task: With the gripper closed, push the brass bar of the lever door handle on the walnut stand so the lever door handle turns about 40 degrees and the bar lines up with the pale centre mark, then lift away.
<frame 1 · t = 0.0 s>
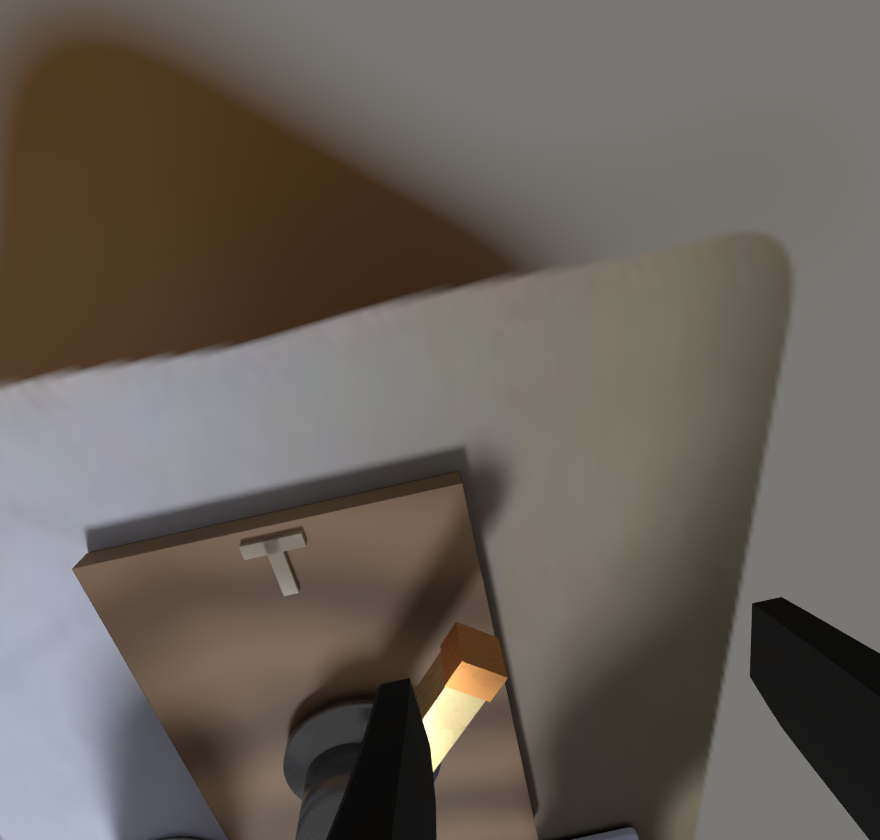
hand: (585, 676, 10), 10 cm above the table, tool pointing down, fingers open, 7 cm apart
lever door handle: (395, 749, 20), point 3 cm above the table, hinge at -40.0°
stand: (347, 708, 24), on the table
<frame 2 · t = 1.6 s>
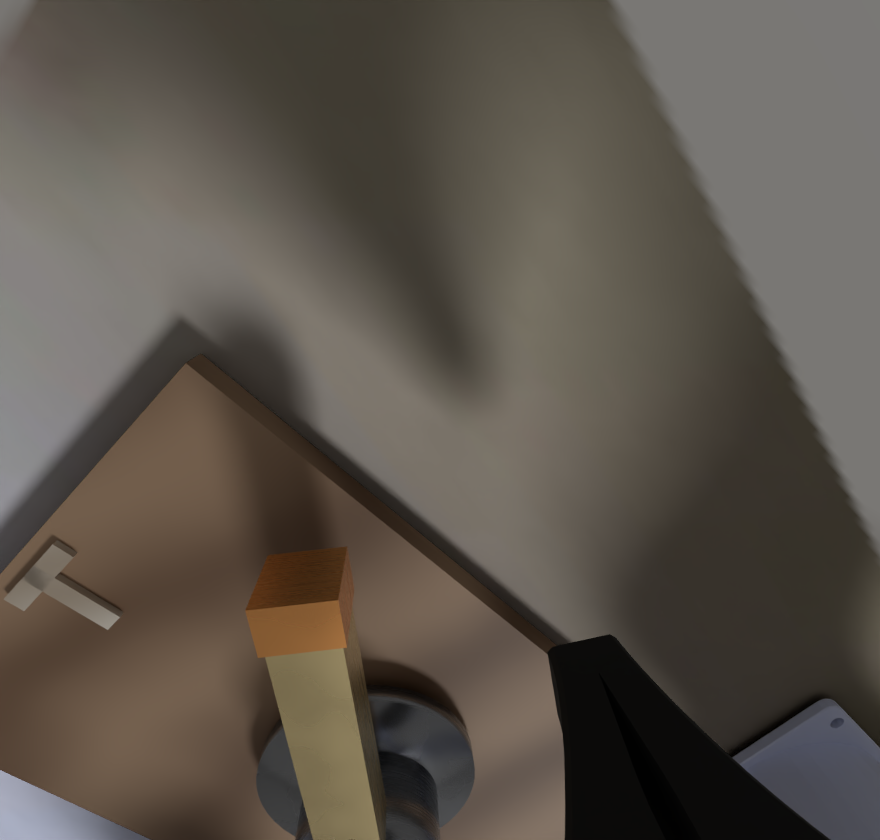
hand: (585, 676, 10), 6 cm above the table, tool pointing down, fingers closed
lever door handle: (349, 755, 14), point 3 cm above the table, hinge at -40.0°
stand: (331, 717, 18), on the table
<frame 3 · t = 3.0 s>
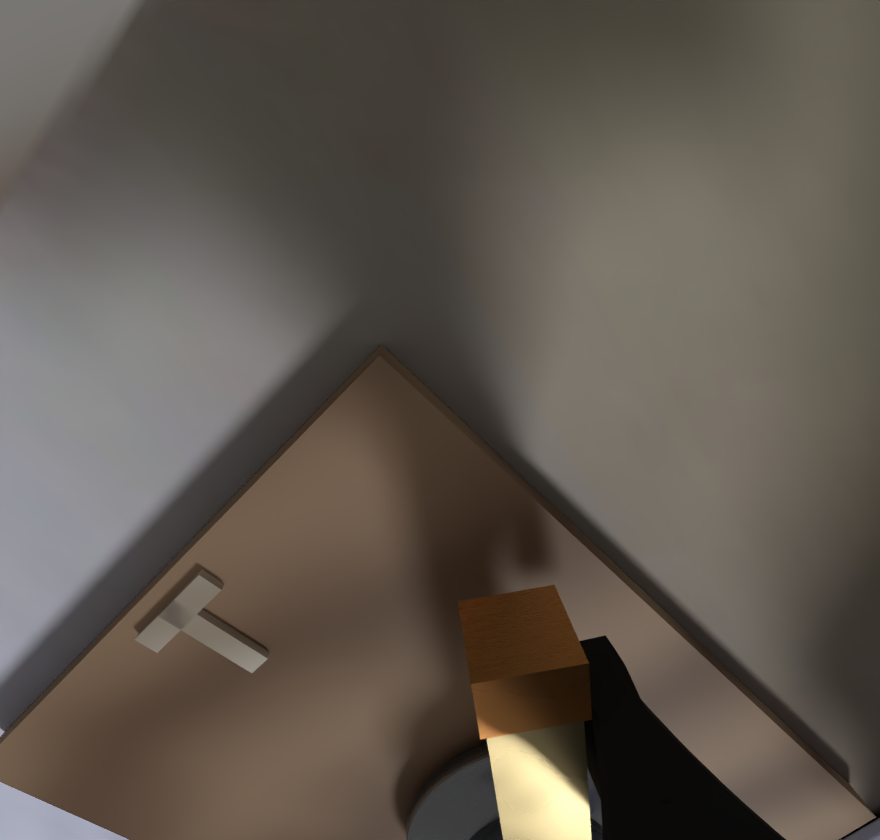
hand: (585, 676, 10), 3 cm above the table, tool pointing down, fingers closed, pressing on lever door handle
lever door handle: (535, 824, 12), point 3 cm above the table, hinge at -36.1°, touching gripper
stand: (476, 762, 16), on the table
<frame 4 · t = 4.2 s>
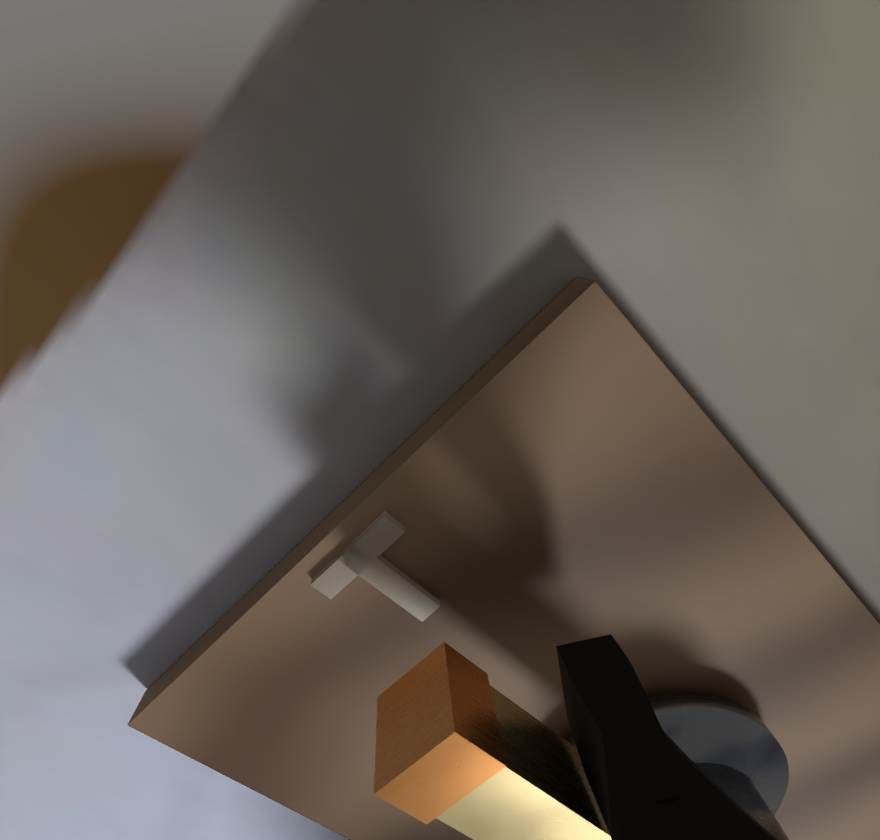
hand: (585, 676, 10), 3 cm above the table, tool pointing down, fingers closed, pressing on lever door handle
lever door handle: (618, 813, 12), point 3 cm above the table, hinge at -0.2°, touching gripper
stand: (611, 722, 15), on the table
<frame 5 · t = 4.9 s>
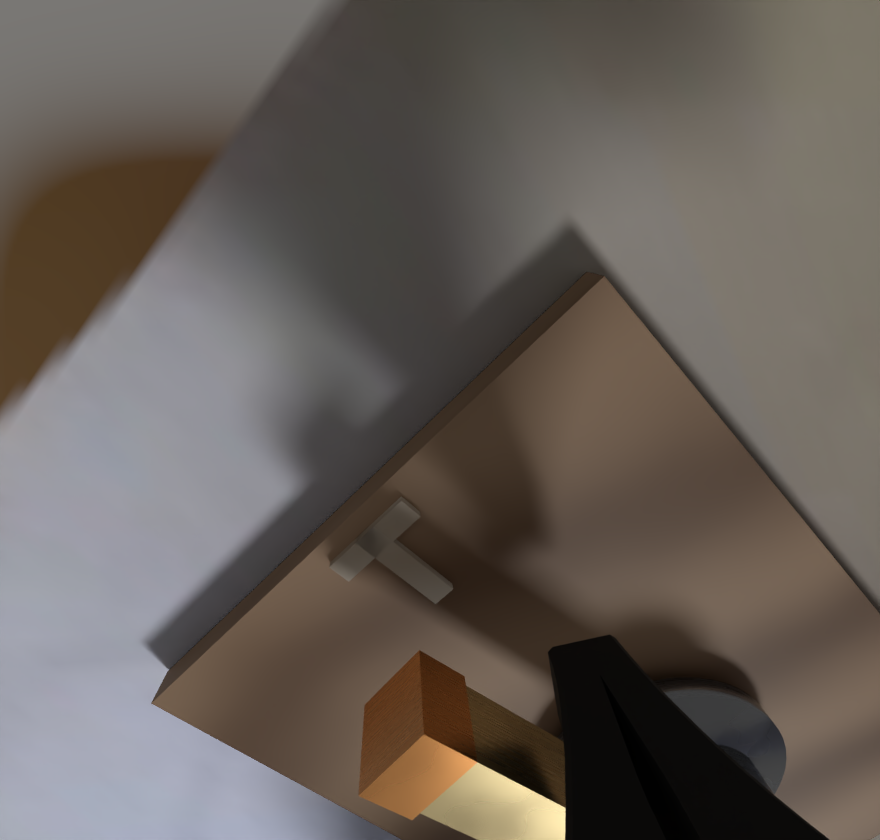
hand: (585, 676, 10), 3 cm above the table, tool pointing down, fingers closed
lever door handle: (611, 798, 12), point 3 cm above the table, hinge at 5.6°
stand: (616, 706, 16), on the table
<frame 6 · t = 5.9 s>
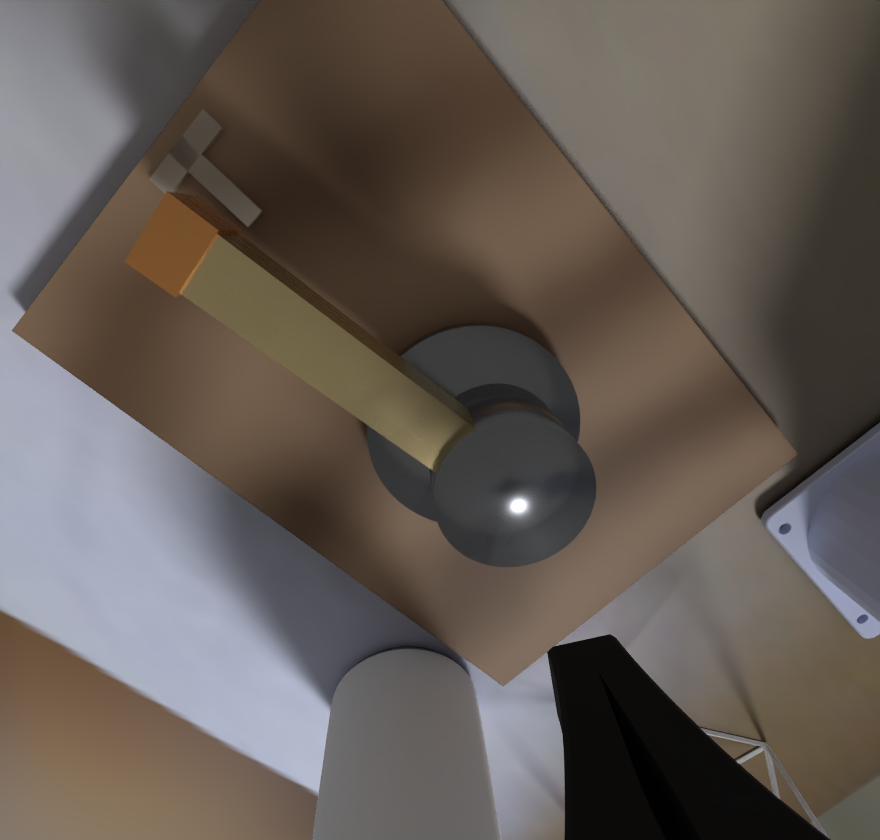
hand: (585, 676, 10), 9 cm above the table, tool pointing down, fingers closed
lever door handle: (397, 388, 14), point 3 cm above the table, hinge at 5.7°
can: (404, 692, 23), on the table
stand: (445, 390, 18), on the table
geometric polyhedron: (646, 761, 26), on the table
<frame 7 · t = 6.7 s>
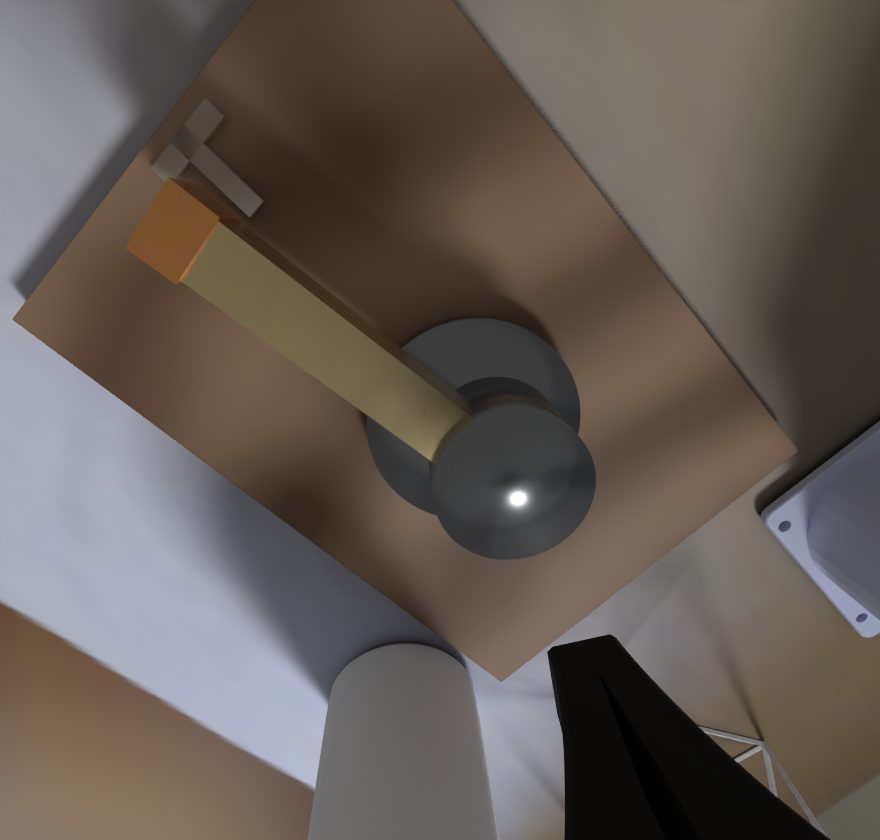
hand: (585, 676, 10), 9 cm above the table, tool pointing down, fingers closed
lever door handle: (397, 380, 14), point 3 cm above the table, hinge at 5.7°
can: (402, 688, 23), on the table
stand: (445, 383, 18), on the table
geometric polyhedron: (643, 759, 26), on the table
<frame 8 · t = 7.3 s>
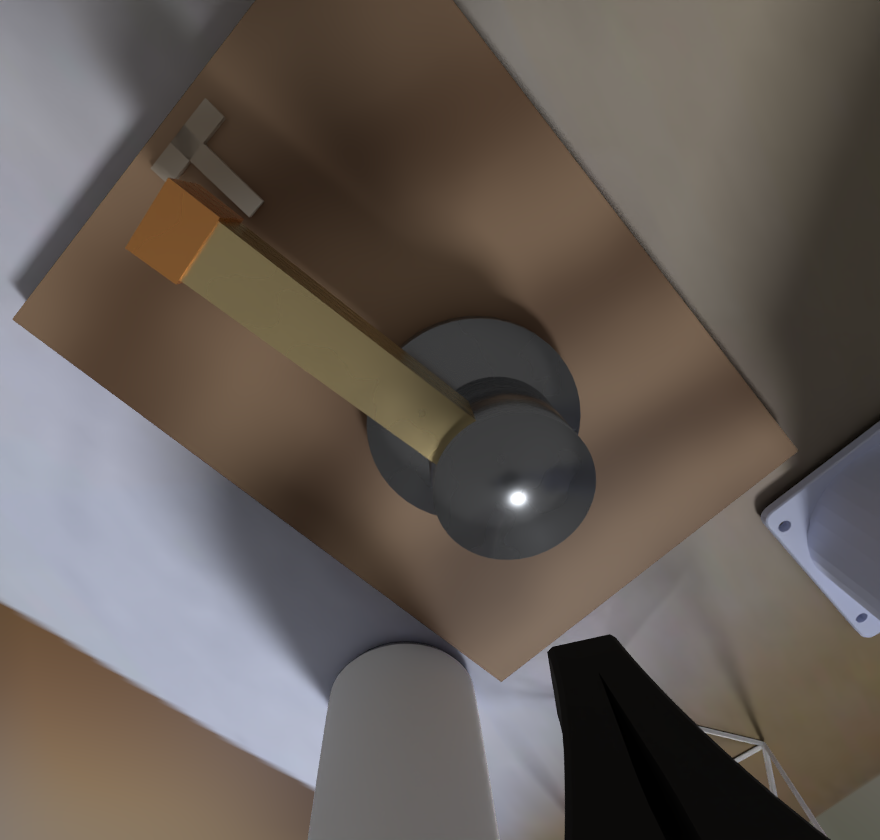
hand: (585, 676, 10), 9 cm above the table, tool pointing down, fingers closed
lever door handle: (397, 380, 14), point 3 cm above the table, hinge at 5.7°
can: (402, 688, 23), on the table
stand: (445, 383, 18), on the table
geometric polyhedron: (643, 759, 26), on the table
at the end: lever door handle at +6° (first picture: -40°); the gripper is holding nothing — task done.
